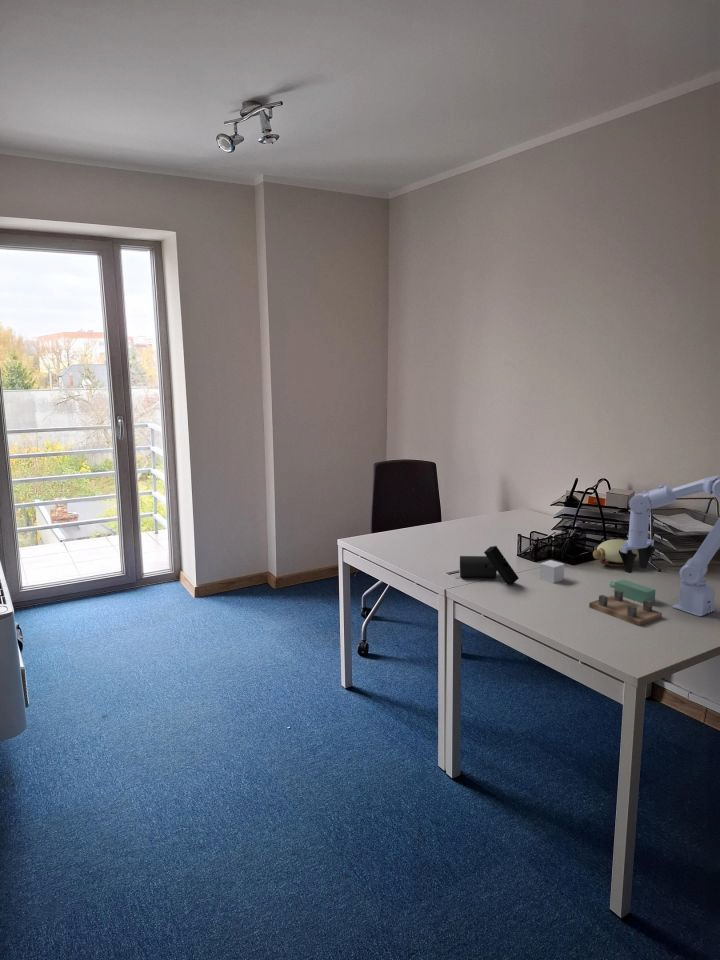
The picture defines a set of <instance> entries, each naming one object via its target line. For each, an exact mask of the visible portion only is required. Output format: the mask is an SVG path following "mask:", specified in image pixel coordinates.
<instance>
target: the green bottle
mask: <svg viewBox="0 0 720 960" xmlns="http://www.w3.org/2000/svg"><path fill="white" fill-rule="evenodd" d="M609 587H610V588H611V589H614V592H615V591H616V590H620V591H623V598H625V599H628V600H631V601H634V602H636V601H637V603H639V602H640V604H642V603H643V601H644V600H650V601H652V604H653V603H655V602H656V589H655V588H653V587H649V586H645V585H642V584H639V583H636V582H633V581H630V580H627V579H624V578H623V579H620V580H617V581H615V582H614V581H610V583H609Z"/></svg>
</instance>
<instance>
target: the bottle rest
mask: <svg viewBox="0 0 720 960" xmlns="http://www.w3.org/2000/svg"><path fill="white" fill-rule="evenodd" d="M588 607H589V608H590V609H593V610H596V611H597V612H601V613H604V614H606V615H609V616H612V617H614V618H616V617H617V619H619V618H620V619H619V620H622V621H624V620H625V622H628V623H630V624H632V623H633V625H635V626H638V627H640V626H643V625H645V624H648V623H651V622H653V621H657V620H659V619H662V618H663V612H661V611H658V610H655V609H653V603H652V601H650V600H644V601H643V604H642V605H640V604H638V603H634V602H633V601H629V600H626V599H624V597H623V591H620V590H616V591H615V590H614V594H613V595H609V596H607V595H604V594H601V595H598V599H597V600H594V601H590V602H589V606H588Z"/></svg>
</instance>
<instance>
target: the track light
mask: <svg viewBox="0 0 720 960" xmlns="http://www.w3.org/2000/svg"><path fill="white" fill-rule="evenodd" d="M483 553H484V554H485V555H459V576H460V578H497V574H498V575H499V576H500V577H501V579H502V580H503V581H504V583H505V584H506V583H507V584H506V585H513V584H515V583H516V582H517V581H518V580H519V579H520V578H519V576H518V575H517V573H516V572H515V571H514V569H513V567H512V566H511V565H510V563H509V562H508V560H507V559H506V557H505V556H504V554H503V553H502V551H501V550H500V549H499V547H498V546H497V545H493V546H489V547H488V548H487V549H486V550H485V551H483Z"/></svg>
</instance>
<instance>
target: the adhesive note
mask: <svg viewBox="0 0 720 960" xmlns="http://www.w3.org/2000/svg"><path fill="white" fill-rule="evenodd" d="M539 580H542V581H545V582H548V583H550V584H556V583H558V582H560V581H563V580H565V564H564V563H562V562H560V561H559V562H558V561H555V560H552V559H549V560H546V561H543V562H540V563H539Z"/></svg>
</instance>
